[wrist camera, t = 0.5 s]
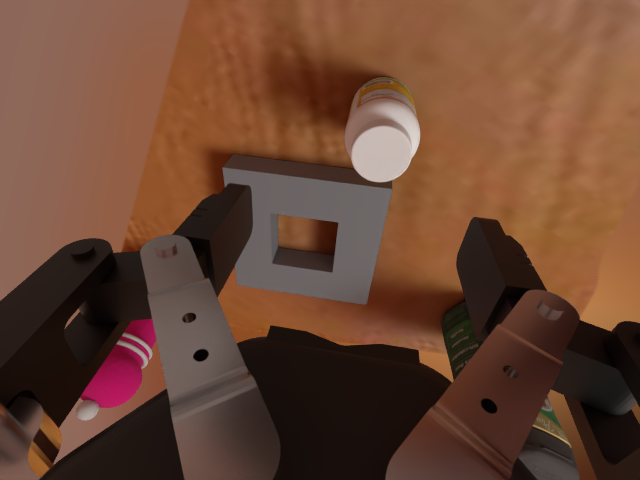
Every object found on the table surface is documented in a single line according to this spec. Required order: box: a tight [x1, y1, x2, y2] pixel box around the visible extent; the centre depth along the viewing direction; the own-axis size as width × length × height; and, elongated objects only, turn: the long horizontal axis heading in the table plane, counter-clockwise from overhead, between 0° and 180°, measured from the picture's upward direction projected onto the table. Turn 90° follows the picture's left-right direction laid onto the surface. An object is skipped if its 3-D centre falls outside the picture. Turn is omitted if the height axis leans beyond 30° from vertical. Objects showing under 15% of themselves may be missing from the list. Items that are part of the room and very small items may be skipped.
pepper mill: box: [76, 319, 157, 420], centre depth 39 cm, size 7×7×20 cm
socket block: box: [222, 154, 392, 305], centre depth 38 cm, size 16×16×3 cm
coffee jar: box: [441, 301, 579, 480], centre depth 37 cm, size 10×8×19 cm
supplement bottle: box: [345, 77, 420, 182], centre depth 26 cm, size 5×5×10 cm
